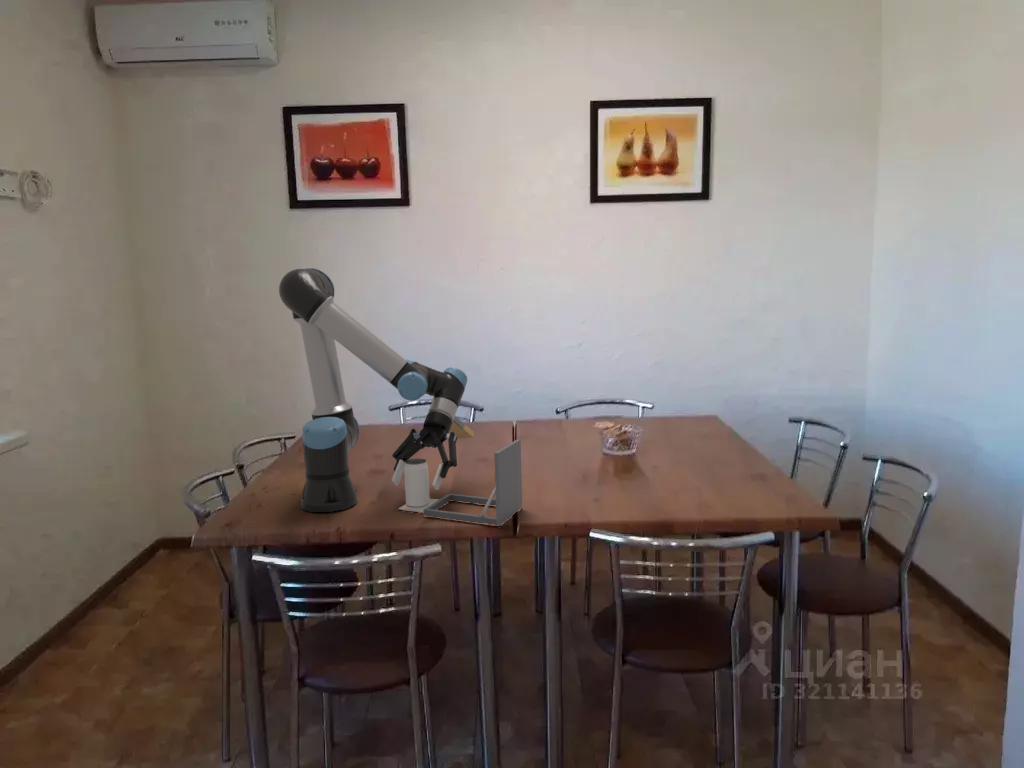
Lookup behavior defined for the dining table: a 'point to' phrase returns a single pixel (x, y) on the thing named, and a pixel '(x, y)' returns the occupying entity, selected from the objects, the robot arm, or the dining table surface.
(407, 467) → the can
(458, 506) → the dining table surface
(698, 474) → the dining table surface
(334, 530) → the dining table surface
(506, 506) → the grey frame and panel
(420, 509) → the pad
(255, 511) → the dining table surface
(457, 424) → the sandwich container
